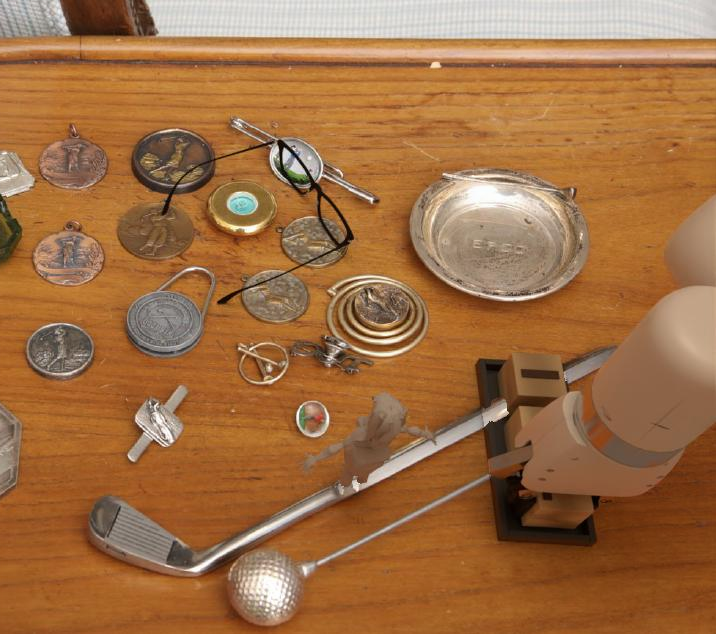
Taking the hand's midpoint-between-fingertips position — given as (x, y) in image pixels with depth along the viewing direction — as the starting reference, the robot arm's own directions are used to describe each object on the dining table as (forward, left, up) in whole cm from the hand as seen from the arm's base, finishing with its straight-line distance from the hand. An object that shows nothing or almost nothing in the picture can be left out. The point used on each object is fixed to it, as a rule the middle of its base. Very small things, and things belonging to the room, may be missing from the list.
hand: (545, 501), depth 81 cm
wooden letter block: (0, 0, 0) cm, 0 cm away
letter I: (0, -11, -1) cm, 11 cm away
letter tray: (0, -5, -2) cm, 6 cm away
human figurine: (+17, 0, -2) cm, 17 cm away
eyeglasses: (+26, -29, -2) cm, 39 cm away
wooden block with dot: (0, -5, -1) cm, 6 cm away
